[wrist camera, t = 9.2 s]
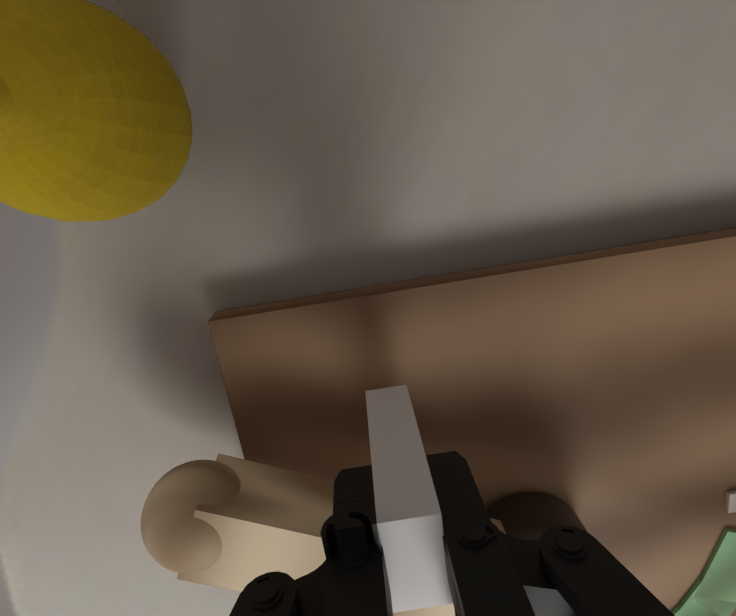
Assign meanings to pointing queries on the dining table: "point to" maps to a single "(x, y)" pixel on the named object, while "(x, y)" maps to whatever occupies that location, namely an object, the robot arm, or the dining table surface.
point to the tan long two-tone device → (279, 522)
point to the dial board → (529, 392)
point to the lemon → (85, 113)
